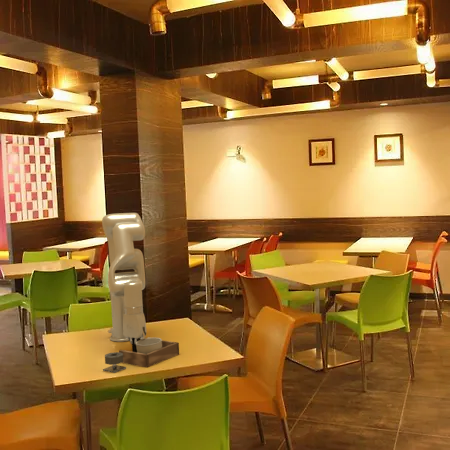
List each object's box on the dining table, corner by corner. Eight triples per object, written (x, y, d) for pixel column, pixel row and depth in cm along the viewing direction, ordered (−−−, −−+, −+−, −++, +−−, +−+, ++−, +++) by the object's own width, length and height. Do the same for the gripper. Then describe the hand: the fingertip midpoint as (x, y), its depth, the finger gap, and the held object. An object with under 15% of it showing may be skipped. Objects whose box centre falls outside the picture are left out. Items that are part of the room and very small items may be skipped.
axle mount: (103, 370, 233) (102, 362, 233) (114, 366, 238) (114, 357, 238) (114, 372, 229) (114, 364, 229) (126, 368, 235) (125, 359, 234)
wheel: (101, 363, 233) (101, 356, 232) (114, 358, 238) (113, 351, 238) (114, 365, 229) (113, 358, 228) (126, 360, 234) (126, 353, 234)
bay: (119, 362, 243) (118, 350, 243) (152, 349, 260) (151, 338, 259) (147, 367, 234) (146, 355, 234) (179, 354, 251) (178, 342, 251)
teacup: (160, 362, 240) (159, 343, 239) (134, 363, 240) (133, 344, 240) (165, 353, 254) (164, 334, 253) (140, 353, 254) (139, 335, 254)
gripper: (114, 310, 251) (117, 352, 253) (140, 313, 243) (143, 357, 244) (127, 307, 257) (129, 348, 259) (153, 310, 249) (155, 352, 250)
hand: (136, 352), depth 251 cm, fingers closed
